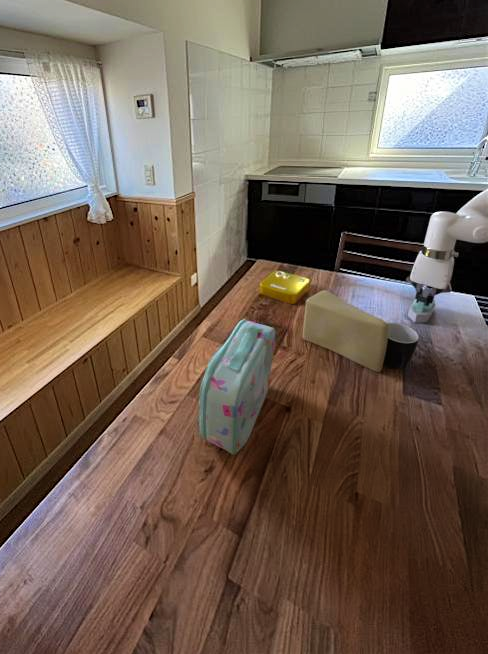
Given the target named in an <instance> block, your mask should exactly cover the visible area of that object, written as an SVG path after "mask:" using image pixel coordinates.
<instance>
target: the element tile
mask: <svg viewBox="0 0 488 654" xmlns="http://www.w3.org/2000/svg"><path fill="white" fill-rule="evenodd" d="M309 290H310V279H309V278H307V277H303V276H300V275H297V274H293V273H290V272H289V273H288V272H285V271H282V270H274V271H272V272H271V273H270V274H269V275H268V276H266V277H265V278H264V279H263V280H261V281H260V282H259V294H260V295H262V296H264V297H268V298H271V299H274V300H277V301H280V302H283V303H286V304H289V305H295V304H296V303H298V302H299V301H300V300H301V299H302V298H303V297H304V296H305V294H306V293H307V292H308V291H309Z"/></svg>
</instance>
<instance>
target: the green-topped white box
mask: <svg viewBox="0 0 488 654" xmlns="http://www.w3.org/2000/svg"><path fill="white" fill-rule="evenodd" d="M431 290H432V288H428V287H424V288H423V291H422V293H421V294H420V296H419V299H418V301H419V302H418V303H416V301H417V299H414V301H413V302H412V303H411V305H410V306H409V308H408V312H407V317H408V318H409V319H411V321H412V322H413V323H416V324H417V323H427V322H428V321H429V319H430V318H431V316H432V315H433V312H434V311H435V307H436V300H435V299H434V300H433V303H432V304H431V303H430V304H429V305H428V306H426V302H427V298H428V295H429V294H430V292H431Z"/></svg>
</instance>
